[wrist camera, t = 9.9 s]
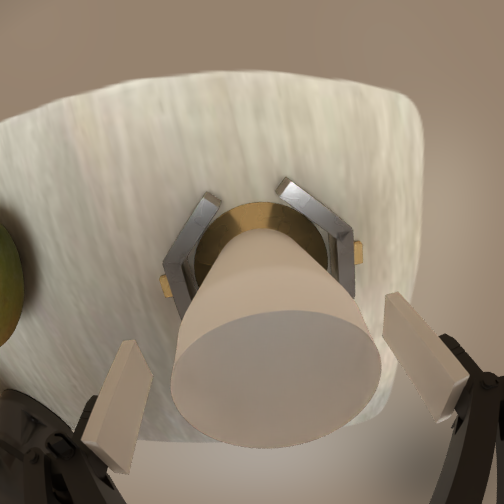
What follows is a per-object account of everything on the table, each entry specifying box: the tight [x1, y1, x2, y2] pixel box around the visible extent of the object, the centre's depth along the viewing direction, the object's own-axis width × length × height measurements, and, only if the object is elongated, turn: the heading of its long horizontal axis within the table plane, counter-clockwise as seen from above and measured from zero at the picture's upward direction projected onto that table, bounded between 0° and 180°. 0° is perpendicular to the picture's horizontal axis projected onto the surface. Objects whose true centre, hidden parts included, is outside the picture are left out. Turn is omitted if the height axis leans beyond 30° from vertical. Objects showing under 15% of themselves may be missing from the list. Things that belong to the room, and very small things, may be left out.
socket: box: [159, 177, 363, 321], centre depth 21 cm, size 15×13×2 cm
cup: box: [171, 228, 381, 448], centre depth 16 cm, size 9×9×12 cm
